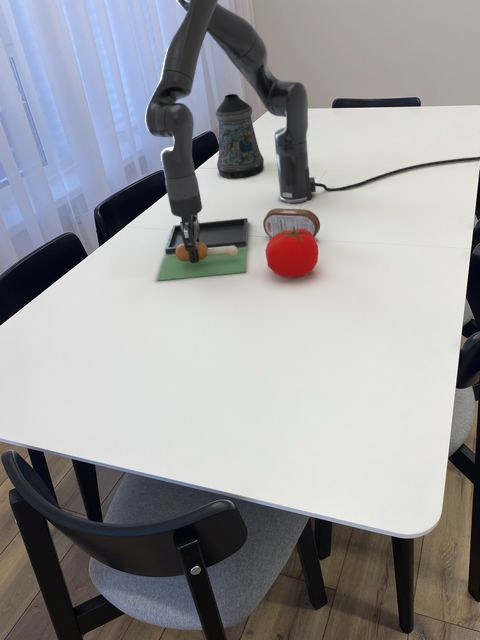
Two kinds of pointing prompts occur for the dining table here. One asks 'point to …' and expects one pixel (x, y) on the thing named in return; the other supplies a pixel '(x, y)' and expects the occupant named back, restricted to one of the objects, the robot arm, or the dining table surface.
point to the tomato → (292, 253)
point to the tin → (290, 221)
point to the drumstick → (205, 251)
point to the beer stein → (237, 140)
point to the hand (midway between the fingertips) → (196, 257)
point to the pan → (214, 234)
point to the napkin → (203, 266)
